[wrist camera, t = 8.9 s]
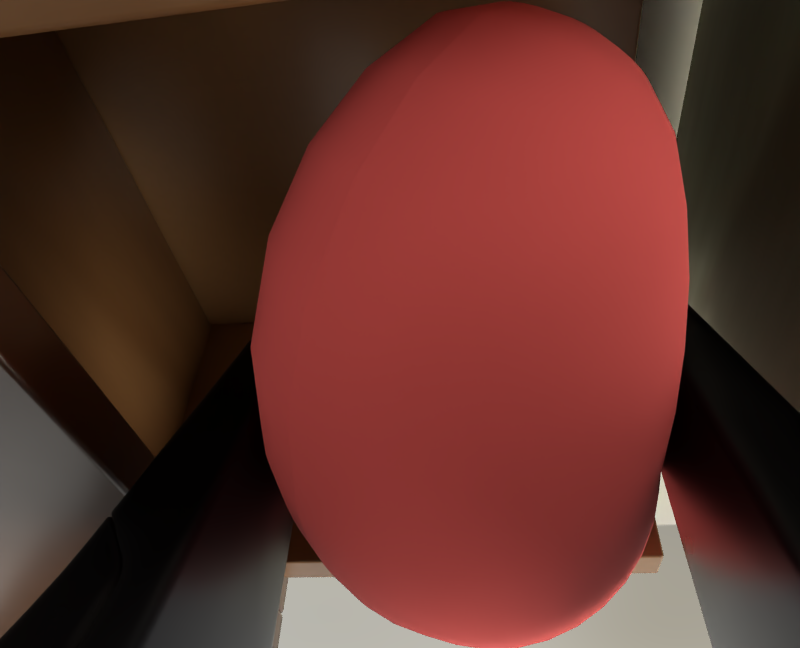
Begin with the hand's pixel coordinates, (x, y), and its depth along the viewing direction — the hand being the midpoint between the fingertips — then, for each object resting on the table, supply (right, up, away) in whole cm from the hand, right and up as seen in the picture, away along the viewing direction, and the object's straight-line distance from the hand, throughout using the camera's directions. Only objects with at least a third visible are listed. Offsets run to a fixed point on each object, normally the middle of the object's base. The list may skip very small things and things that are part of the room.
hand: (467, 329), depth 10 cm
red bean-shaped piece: (0, +1, +1) cm, 1 cm away
